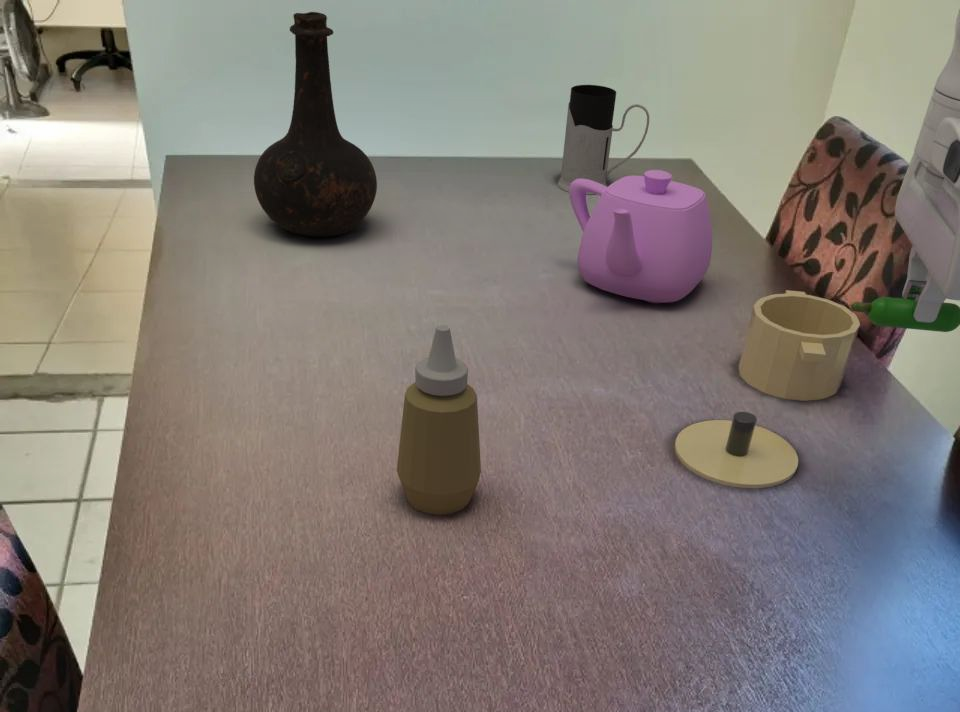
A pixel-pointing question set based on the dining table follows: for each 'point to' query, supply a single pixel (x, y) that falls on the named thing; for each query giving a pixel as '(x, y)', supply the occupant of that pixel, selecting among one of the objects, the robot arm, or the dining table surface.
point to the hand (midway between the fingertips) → (917, 310)
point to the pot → (798, 346)
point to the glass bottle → (314, 151)
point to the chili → (907, 314)
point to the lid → (736, 452)
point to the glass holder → (590, 135)
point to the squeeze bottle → (439, 433)
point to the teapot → (643, 236)
